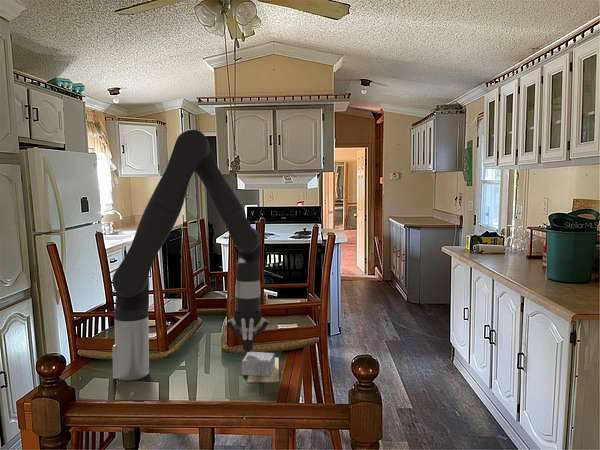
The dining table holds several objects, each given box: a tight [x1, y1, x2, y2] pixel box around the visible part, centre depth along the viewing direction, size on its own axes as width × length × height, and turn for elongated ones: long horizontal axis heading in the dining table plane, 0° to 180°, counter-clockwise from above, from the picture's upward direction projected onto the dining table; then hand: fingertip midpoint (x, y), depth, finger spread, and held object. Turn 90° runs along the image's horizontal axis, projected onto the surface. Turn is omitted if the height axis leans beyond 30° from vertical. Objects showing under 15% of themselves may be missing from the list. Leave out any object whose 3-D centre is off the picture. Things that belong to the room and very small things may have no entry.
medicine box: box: [241, 351, 276, 376], centre depth 132 cm, size 8×4×9 cm
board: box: [246, 357, 280, 384], centre depth 134 cm, size 9×18×1 cm, turn 4°
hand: (247, 351), depth 133 cm, fingers closed
